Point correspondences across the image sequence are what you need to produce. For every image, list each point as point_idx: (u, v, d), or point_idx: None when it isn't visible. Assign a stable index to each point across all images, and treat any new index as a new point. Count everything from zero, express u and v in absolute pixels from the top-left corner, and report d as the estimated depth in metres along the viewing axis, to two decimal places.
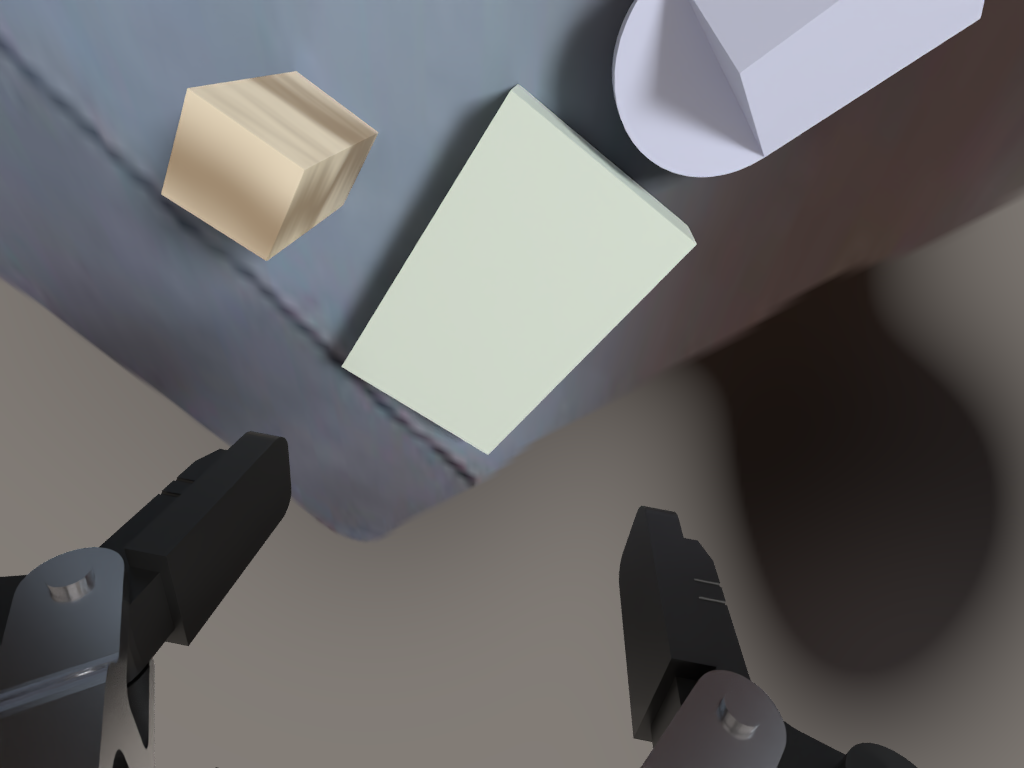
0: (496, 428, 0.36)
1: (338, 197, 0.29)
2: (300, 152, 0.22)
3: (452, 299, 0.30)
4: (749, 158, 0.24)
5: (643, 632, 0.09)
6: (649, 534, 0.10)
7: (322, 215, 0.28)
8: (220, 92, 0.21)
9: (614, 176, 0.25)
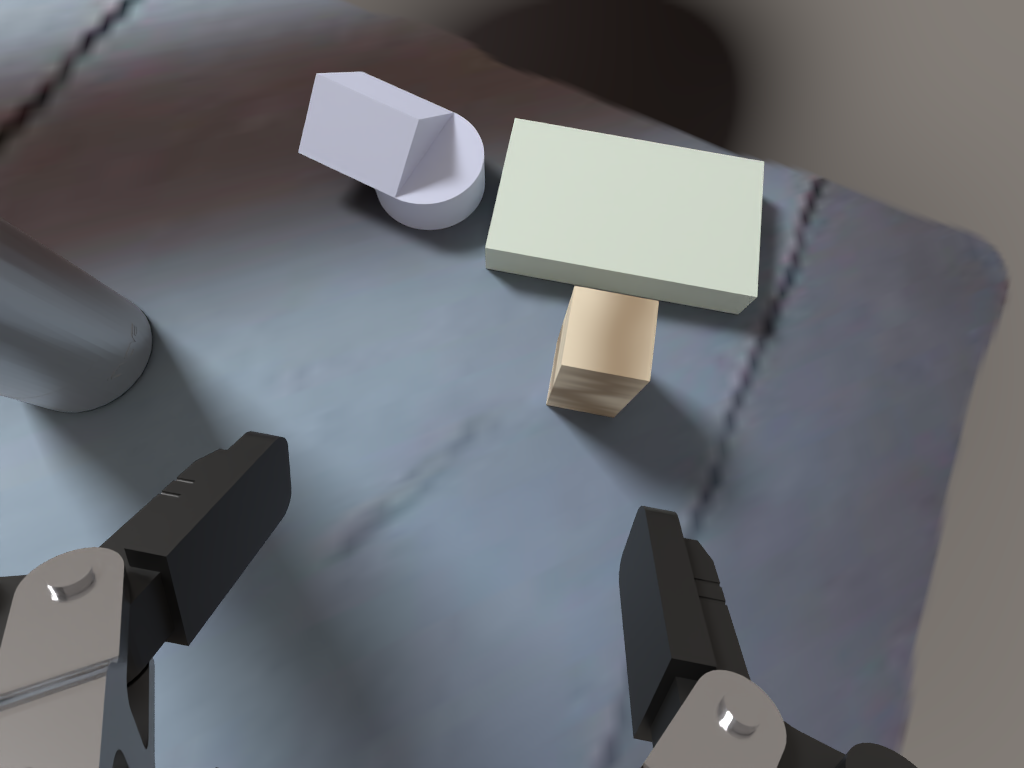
0: (731, 165, 0.40)
1: None
2: (570, 305, 0.31)
3: (638, 234, 0.38)
4: (457, 118, 0.40)
5: (643, 632, 0.09)
6: (649, 534, 0.10)
7: None
8: (559, 365, 0.30)
9: None
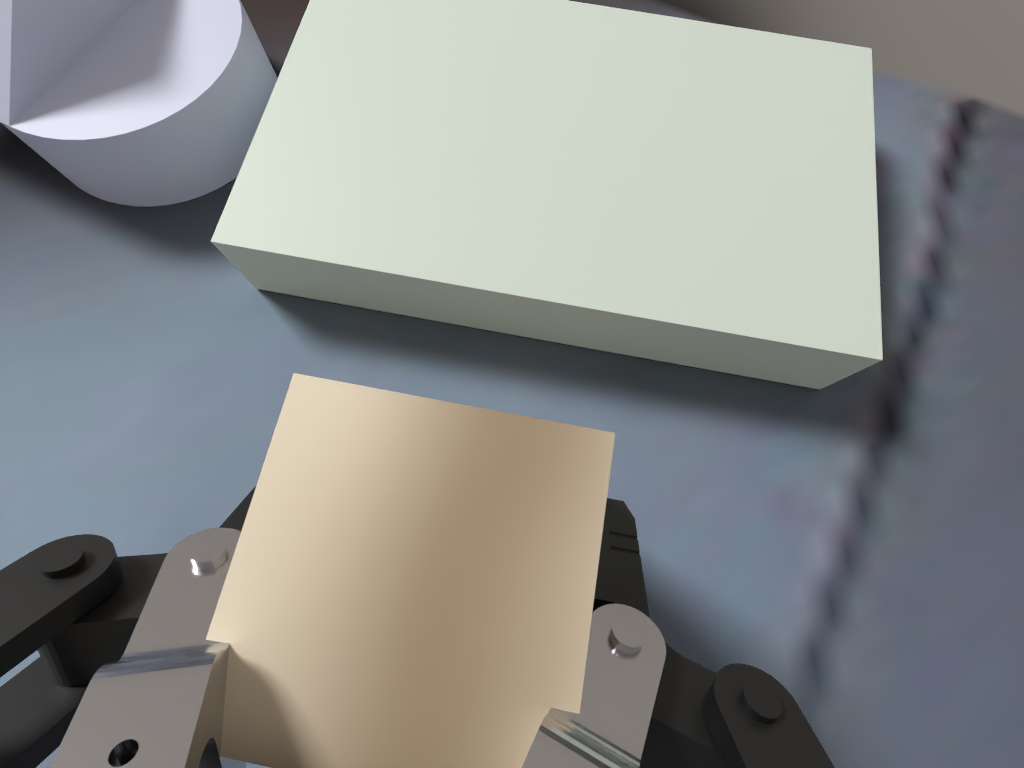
0: (799, 57, 0.18)
1: None
2: None
3: (588, 207, 0.16)
4: None
5: None
6: None
7: None
8: None
9: (278, 80, 0.17)
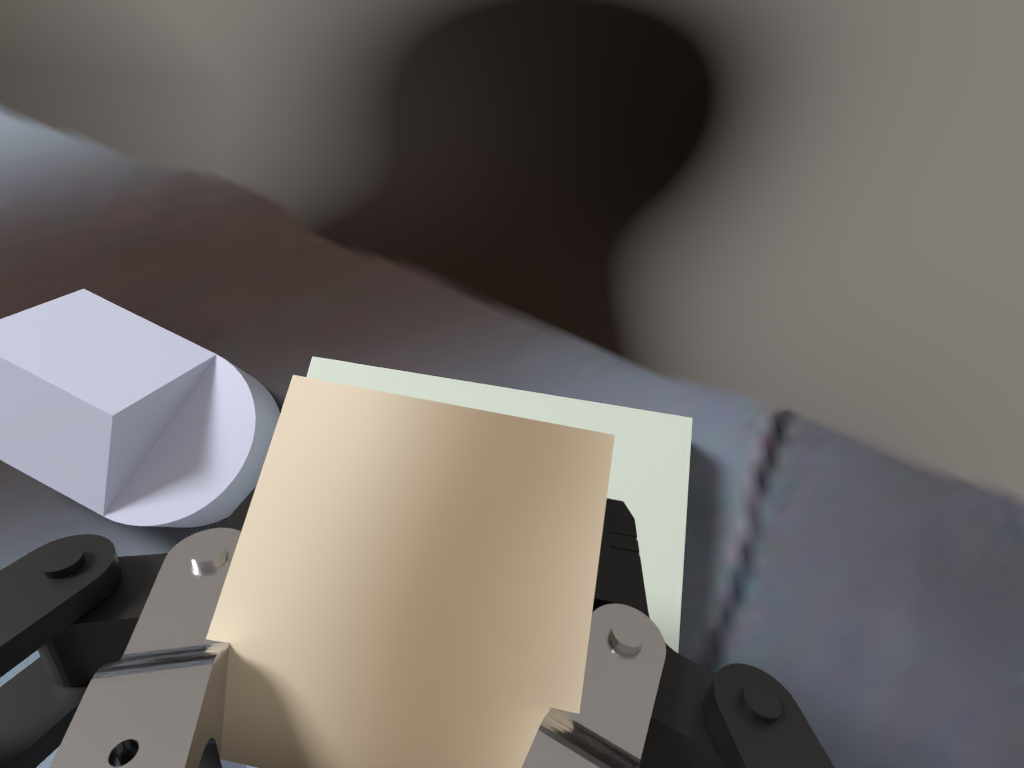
0: (641, 427, 0.26)
1: None
2: None
3: None
4: (221, 364, 0.26)
5: None
6: None
7: None
8: None
9: None
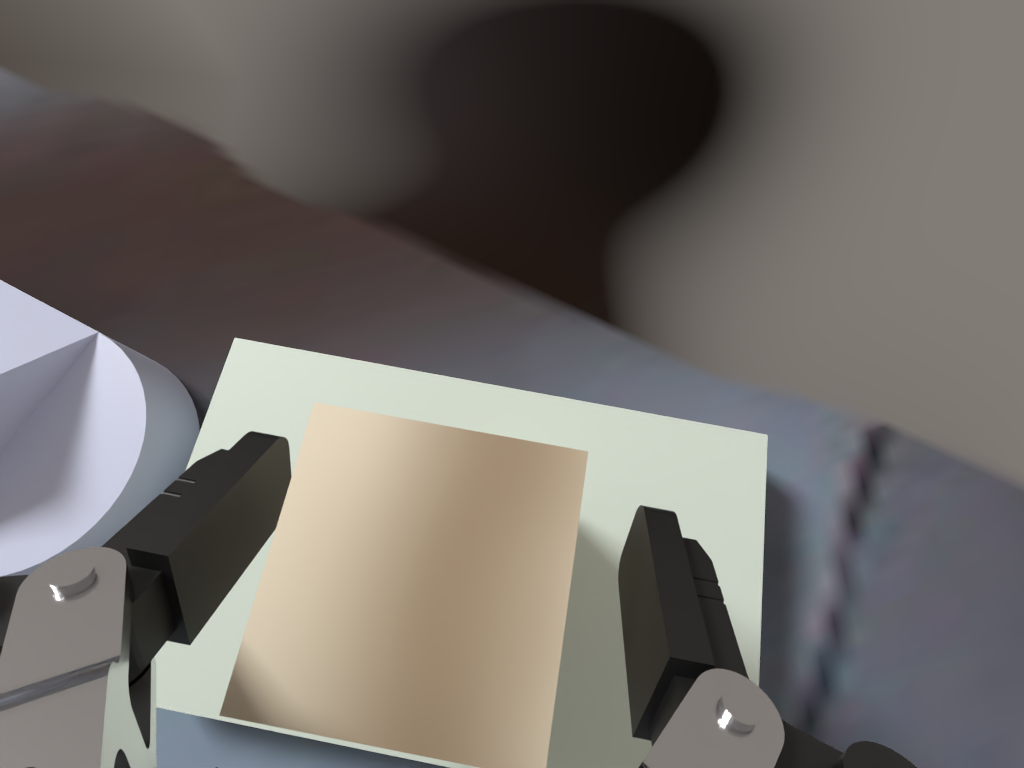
0: (696, 447, 0.18)
1: None
2: None
3: None
4: (104, 345, 0.19)
5: (642, 631, 0.09)
6: (648, 533, 0.10)
7: None
8: None
9: None
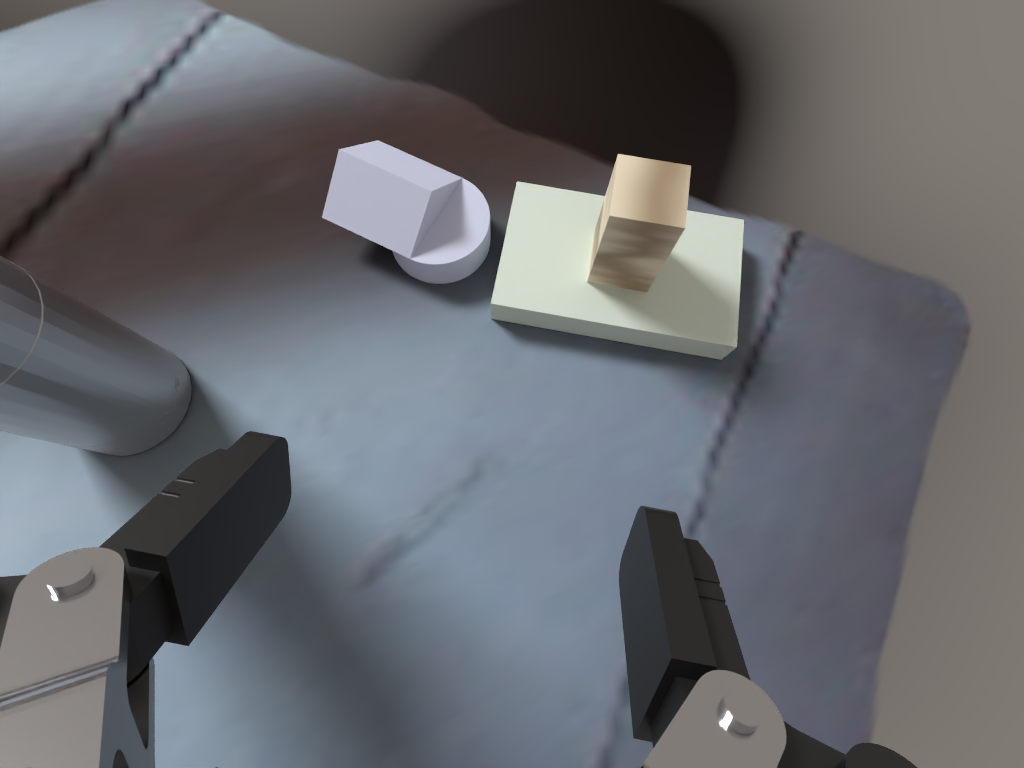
0: (714, 224, 0.44)
1: None
2: (613, 174, 0.36)
3: (629, 289, 0.42)
4: (465, 183, 0.44)
5: (643, 632, 0.09)
6: (649, 534, 0.10)
7: None
8: (606, 222, 0.35)
9: (505, 236, 0.43)
